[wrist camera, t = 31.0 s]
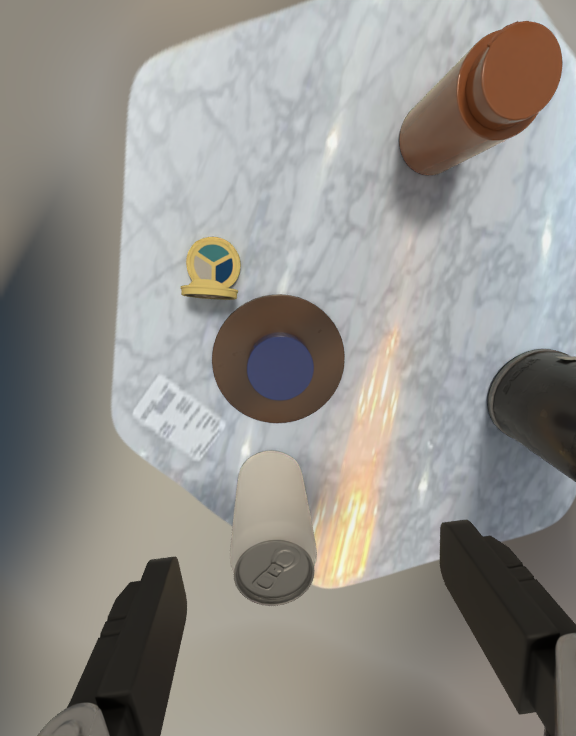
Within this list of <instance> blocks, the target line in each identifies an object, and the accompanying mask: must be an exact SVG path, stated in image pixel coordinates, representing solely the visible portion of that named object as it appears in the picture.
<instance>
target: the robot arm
mask: <svg viewBox="0 0 576 736" xmlns="http://www.w3.org/2000/svg"><path fill="white" fill-rule="evenodd" d="M488 410H489V414H490V417H491V419H492V421H493V423H494V424H495V426H496V427H497V428H498V429H499V430H500V431H502V432H503V433H505V434H506V435H508V436H509V437H511V438H513V439H515V440H516V441H518V442H519V443H521V444H522V445H524V446H525V447H526V448H528V449H529V450H530V451H532V452H533V453H535V454H536V455H538V456H539V457H541V458H542V459H543V460H545V461H546V462H548V463H549V464H551V465H552V466H553V467H555V468H556V469H558V470H559V471H561V472H562V473H564V474H565V475H566V476H568V477H569V478H571V479H572V480H574V481H575V482H576V357H571V356H569V355H567V354H565V353H562V352H559V351H556V350H551V349H537V350H532V351H528V352H526V353H523V354H521V355H519V356H517V357H516V358H514V359H513V360H511V361H510V362H509V363H508V364H506V365H505V366H504V367H503V368H502V370H501V371H500V372H499V373H498V375H497V376H496V378H495V380H494V381H493V383H492V386H491V389H490V392H489V396H488ZM440 568H441V573H442V577H443V580H444V582H445V585H446V587H447V589H448V590H449V592H450V594H451V595H452V597H453V599H454V601H455V603H456V604H457V606H458V608H459V610H460V611H461V613H462V615H463V617H464V618H465V620H466V622H467V624H468V625H469V627H470V629H471V631H472V632H473V634H474V636H475V638H476V640H477V641H478V643H479V645H480V647H481V648H482V650H483V652H484V654H485V655H486V657H487V659H488V661H489V662H490V664H491V666H492V668H493V669H494V671H495V673H496V675H497V676H498V678H499V680H500V682H501V683H502V685H503V687H504V689H505V691H506V692H507V694H508V696H509V698H510V699H511V701H512V703H513V705H514V706H515V708H516V710H517V711H518V713H519V714H526V713H533V712H536V713H537V715H538V716H539V718H540V719H541V721H542V723H543V724H544V726H545V729H544V736H576V624H575V623H574V622H573V621H572V620H571V619H570V617H568V615H567V614H566V613H565V612H564V611H563V609H562V608H561V607H560V606H559V605H558V604H557V603H556V601H555V600H554V599H553V598H552V597H551V596H550V594H549V593H548V592H547V591H546V590H545V589H544V588H543V586H542V585H541V584H540V583H539V582H538V581H537V580H535V579H534V576H533V575H532V574H531V573H530V572H529V570H528V569H527V568H526V567H525V566H523V564H522V562H521V561H520V560H519V559H518V558H517V556H516V555H515V554H514V553H513V552H512V551H511V550H510V548H509V547H507V546H505V545H504V544H503V543H501V542H500V541H498V540H497V539H495V538H494V537H492V536H484V537H483V536H482V535H481V534H480V533H479V531H478V530H477V529H476V528H475V526H474V525H473V524H472V523H471V522H470V521H469V520H459V521H451V522H444V523H442V524H441V527H440ZM186 615H187V599H186V593H185V589H184V584H183V581H182V576H181V571H180V567H179V562H178V559H177V557H168V558H160V559H153V560H150V561H149V562H148V563H147V566H146V568H145V571H144V573H143V576H142V578H141V581H136V582H130V583H129V584H128V585H127V587H126V588H125V589H124V590H123V591H122V593H121V594H120V595H119V596H118V597H117V598H116V600H115V602H114V604H113V607H112V609H111V611H110V614H109V616H108V620H107V622H105V625H104V627H103V629H102V632H101V635H100V638H98V640H97V643H96V645H95V647H94V649H93V652H92V654H91V656H90V658H89V660H88V663H87V665H86V667H85V669H84V672H83V674H82V676H81V678H80V681H79V683H78V685H77V687H76V690H75V692H74V694H73V696H72V699H71V701H70V703H69V705H68V707H67V708H66V709H65V710H64V711H62V712H60V713H59V714H57V716H55V717H54V718H53V719H52V720H50V721H49V722H48V723H47V725H46V726H45V727H44V728H43V729H42V730H41V731H40V733H39V734H38V736H160V735H161V730H162V726H163V721H164V716H165V712H166V708H167V703H168V699H169V694H170V690H171V685H172V681H173V676H174V672H175V667H176V662H177V658H178V653H179V649H180V644H181V640H182V635H183V631H184V626H185V621H186Z"/></svg>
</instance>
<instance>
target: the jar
mask: <svg viewBox="0 0 576 736" xmlns="http://www.w3.org/2000/svg"><path fill="white" fill-rule="evenodd" d="M561 73H562V54H561V49H560V46H559V43H558V41H557V39H556V37H555V36H554V34H553V33H552V32H551V31H550V30H549V29H548V28H546V27H545V26H543V25H541V24H539V23H536V22H529V21H523V22H518V21H517V22H515V23H513V24H510V25H507V26H506V27H504V28H503V29H502V30H498V31H495V32H492V33H490V34H488V35H487V36H485V37H484V38H482V39H481V40H480V41H479V42H477V43H476V44H475V45H474V46H473V47H472V48H471V49H470V50H469V51H468V52H467V53H466V54H465V56H464V57H463V58H462V59H461V60H460V61H459V62H458V63H457V64H456V65H455V66H454V67H453V68H452V69H451V70H450V71H449V72H448V73H447V74H446V75H445V76H444V77H443V78H442V79H441V80H440V81H439V82H438V83H437V84H436V85H435V86H434V87H433V88H432V89H431V90H430V91H429V92H428V93H427V94H426V96H425V97H424V98H423V99H422V100H421V101H420V102H419V103H418V104H417V105H416V106H415V107H414V108H413V109H412V110H411V111H410V112H409V113H408V115H407V116H406V118H405V120H404V122H403V124H402V127H401V131H400V138H399V143H400V150H401V154H402V157H403V159H404V161H405V162H406V164H407V165H408V166H409V167H410V168H411V169H412V170H414V171H415V172H417V173H419V174H422V175H436V174H440V173H442V172H444V171H446V170H448V169H450V168H452V167H454V166H456V165H458V164H460V163H462V162H464V161H466V160H468V159H470V158H472V157H474V156H476V155H478V154H480V153H482V152H484V151H486V150H488V149H490V148H492V147H494V146H496V145H498V144H500V143H502V142H504V141H506V140H507V139H509V138H511V137H513V136H515V135H517V134H519V133H520V132H522V131H523V130H524V129H525V128H527V127H528V126H529V125H530V124H531V122H532V121H533V120H534V119H535V117H536V116H537V114H538V113H539V112H540V111H541V110H542V109H543V108H544V107H545V106H546V105H547V104H548V102H549V101H550V100H551V98H552V97H553V95H554V93H555V91H556V89H557V87H558V84H559V82H560V78H561Z"/></svg>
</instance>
